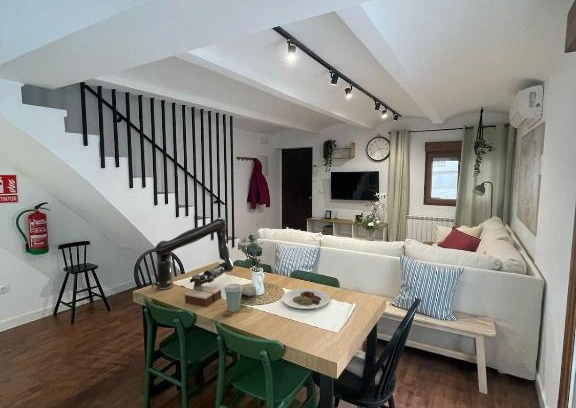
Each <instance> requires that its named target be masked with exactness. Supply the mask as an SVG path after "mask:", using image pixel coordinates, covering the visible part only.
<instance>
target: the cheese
mask: <svg viewBox="0 0 576 408" xmlns="http://www.w3.org/2000/svg"><path fill="white" fill-rule="evenodd" d="M253 283H254V282H250V283H247V284H246V285H244V287H243V289H242V294H241V296H246V297H249V298H250V297H254V296H255V295H256V294H257V293H256V287H255V286H254V284H253ZM255 293H256V294H255ZM253 294H254V295H253Z"/></svg>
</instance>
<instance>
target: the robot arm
mask: <svg viewBox="0 0 576 408" xmlns="http://www.w3.org/2000/svg"><path fill="white" fill-rule="evenodd" d="M226 228H227V222H226V219H224V218H223V217H218V218H215V219H214V220H213V221H211V222H209V223H207V224H205V225H201V226H197V227H194V228H191V229H189V230H186V231H185V232H182V233H181V234H179V235H177V236H176V237H174V238H172V239H169V240H160V241H159V242H158V243H157V244H156V245H155V247H154V252H155V254H156V271H157V274H156V276H155V277H156V281H155V282H154V283H152V285H151V288H153V287H156V289H158V290H164V291H165V290H169V289H171V288H173V276H172V275H173V274H172V272H173V271H172V252H173V251H175V250H177V249H180V248H182V247H186V246H189V245H190V244H193V243H196V242H198V241H200V240H202V239H204V238H206V237H207V236H210V235H212V234H214V233H216V236H217V248H218V256H219V257H218V258H219V259H220V260H222V261H224V262H219V263H218V264H217V265H216V266H214V267H211V268H208V269H207V270H205V271H203V273H202V274H199V273H196V274H194V275H192V276H191V278H190V279H189V283H190V284H192V283H194V278H196V277H198V278H201V284H202V285H204V284H207V283H209V284H210V283H212V282H214V281H215V280H216V279H217V278H219V277H221V276H223V274H224V273H232V272H233V270H234V262H233V261H232V259H231V256H230V250H229V244H228V240H227V232H226V230H227V229H226Z"/></svg>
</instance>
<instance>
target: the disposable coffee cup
mask: <svg viewBox="0 0 576 408" xmlns="http://www.w3.org/2000/svg"><path fill="white" fill-rule="evenodd" d="M223 289H224V293H225V294H224V295H225V297H226V298H225V299H226V305H227V310H228V312H229V313H235V312H238V311H239V310H240V308H241V300H242V295H241V294H242V290H243V289H244V287H243V285H242V284H240V283H229V284H226V286H224V288H223Z"/></svg>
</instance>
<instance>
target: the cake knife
mask: <svg viewBox="0 0 576 408" xmlns="http://www.w3.org/2000/svg"><path fill="white" fill-rule="evenodd" d="M192 286H193V290H197V291H202V292H203V286H204V285H203V284H201V278H200V277H199V278H198V277H196V278H194V282H193V285H192Z"/></svg>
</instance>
